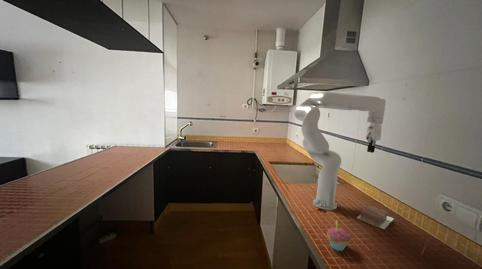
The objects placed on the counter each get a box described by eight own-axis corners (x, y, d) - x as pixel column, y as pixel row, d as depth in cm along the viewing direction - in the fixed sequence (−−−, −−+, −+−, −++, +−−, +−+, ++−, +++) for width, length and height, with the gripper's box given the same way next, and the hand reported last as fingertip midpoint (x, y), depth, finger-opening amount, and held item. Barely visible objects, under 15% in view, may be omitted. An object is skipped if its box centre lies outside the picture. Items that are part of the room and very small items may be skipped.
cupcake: (338, 256, 75) (341, 226, 74) (320, 242, 83) (323, 214, 81) (354, 251, 79) (358, 222, 77) (335, 237, 86) (339, 211, 85)
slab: (386, 219, 102) (378, 227, 95) (368, 213, 108) (359, 220, 101) (387, 212, 102) (379, 219, 94) (369, 205, 108) (361, 212, 100)
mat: (384, 230, 94) (384, 229, 94) (356, 218, 103) (356, 217, 103) (393, 219, 104) (393, 218, 104) (367, 209, 113) (367, 208, 113)
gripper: (378, 121, 108) (373, 154, 110) (386, 121, 118) (382, 152, 120) (362, 120, 114) (358, 152, 116) (372, 120, 123) (368, 149, 126)
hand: (370, 152), depth 118 cm, fingers closed
